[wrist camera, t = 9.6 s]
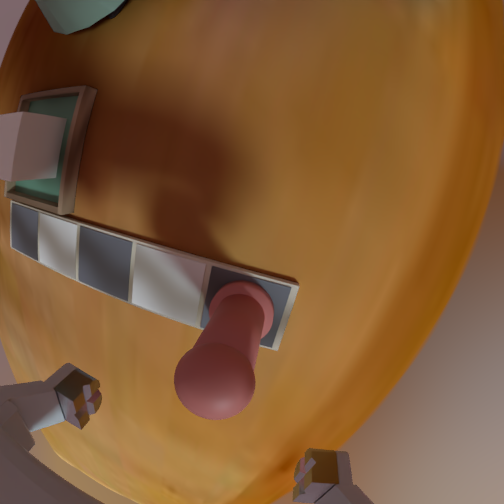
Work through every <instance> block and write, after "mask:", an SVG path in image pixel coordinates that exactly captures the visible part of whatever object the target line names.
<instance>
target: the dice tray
mask: <svg viewBox="0 0 504 504" xmlns="http://www.w3.org/2000/svg"><path fill="white" fill-rule="evenodd" d="M96 93H97V89H94V88H92V87H89V86H86V85H84V86H75V87H67V88H60V89H53V90H47V91H41V92H36V93H31V94H26V95H22V96H21V98H20V102H19V106H18V110H17V112H30V113H37V114H43V115H49V116H55V117H60V118H65V119H67V121H66V125H65V130H64V134H63V139H62V144H61V149H60V155H59V161H58V167H57V174H56V178H48V179H34V180H23V181H12V182H10V181H6V180H5V191H4V197H7V198H10V199H13V200H16V201H19V202H22V203H25V204H28V205H31V206H34V207H37V208H41V209H44V210H47V211H50V212H53V213H56V214H59V215H64V214H69V213H74V204H75V194H76V186H77V179H78V172H79V166H80V160H81V155H82V149H83V144H84V139H85V135H86V130H87V126H88V122H89V118H90V114H91V110H92V107H93V103H94V100H95V96H96Z"/></svg>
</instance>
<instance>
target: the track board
mask: <svg viewBox="0 0 504 504" xmlns="http://www.w3.org/2000/svg"><path fill="white" fill-rule="evenodd" d="M10 244H11V248H12V249H14V250H16V251H18V252H20V253H21V254H23V255H25V256H27V257H29V258H31V259H33V260H35V261H36V262H38V263H40V264H42V265H44V266H46V267H48V268H50V269H52V270H54V271H56V272H58V273H60V274H62V275H65V276H67V277H69V278H71V279H73V280H75V281H77V282H80V283H82V284H84V285H86V286H88V287H91V288H93V289H95V290H98V291H100V292H102V293H105V294H107V295H109V296H112V297H114V298H117V299H119V300H121V301H124V302H126V303H129V304H131V305H134V306H137V307H139V308H142V309H144V310H147V311H150V312H152V313H155V314H158V315H161V316H164V317H166V318H169V319H172V320H175V321H178V322H181V323H184V324H187V325H190V326H193V327H196V328H199V329H202V330H204V328H205V327H206V325H207V323H208V322H209V320H210V318H209V307H210V303H211V301H212V299H213V298H214V296H215V295H216V293H217V292H218V290H219V289H220V288H221V287H223V286H224V285H225V284H227V283H229V282H232V281H238V280H244V281H250V282H253V283H255V284H258V285H259V286H261V287H262V288H263V289H265V290H266V292H267V293H268V294H269V295H270V297H271V299H272V301H273V305H274V317H273V323H272V326H271V328H270V330H269V332H268V333H267V334H266V335H265V336H264V337H263V338H261V340H260V345H259V346H260V347H264V348H268V349H272V350H276V351H278V348H279V345H280V342H281V339H282V337H283V334H284V331H285V328H286V325H287V322H288V319H289V316H290V313H291V310H292V307H293V304H294V301H295V298H296V295H297V292H298V289H299V283H295V282H292V281H288V280H284V279H280V278H277V277H273V276H269V275H266V274H262V273H258V272H255V271H251V270H247V269H244V268H240V267H236V266H233V265H229V264H226V263H222V262H218V261H215V260H211V259H208V258H204V257H201V256H197V255H194V254H190V253H187V252H183V251H180V250H176V249H173V248H169V247H166V246H162V245H159V244H155V243H152V242H149V241H145V240H142V239H138V238H135V237H132V236H128V235H125V234H122V233H118V232H115V231H112V230H108V229H105V228H102V227H99V226H95V225H92V224H89V223H86V222H82V221H79V220H76V219H73V218H69V217H66V216H63V215H59V214H56V213H53V212H50V211H47V210H44V209H41V208H37V207H34V206H31V205H28V204H25V203H22V202H19V201H16V200H11V210H10Z"/></svg>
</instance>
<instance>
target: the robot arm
mask: <svg viewBox="0 0 504 504" xmlns="http://www.w3.org/2000/svg"><path fill="white" fill-rule="evenodd" d="M99 387H100V383H99V380H97V379H95V378H93V377H92V376H90V375H88V374H87V373H85V372H83V371H82V370H80V369H79V368H77V367H75V366H74V365H72V364H70V363H66V364H65V365H63V366H62V367H61V368H60V369H59V370H57V371H56V372H55V373H54V374H53V375H52V376H50V377H49V378H48V379H47V380H46V381H45V382H43V381H35V382H28V383H21V384H13V385H5V386H0V504H104V503H102V502H101V501H99V500H97V499H95V498H93V497H92V496H90V495H88V494H86V493H85V492H83V491H82V490H80V489H78V488H77V487H75V486H74V485H72V484H71V483H69V482H68V481H66V480H64V479H63V478H62V477H60V476H59V475H58V474H56V473H55V472H53V471H52V470H51V469H49V468H48V467H47V466H45V465H44V464H43V463H41V462H40V461H39V460H38V459H36V458H35V457H34V456H33V455H32V454H30V453H29V451H30V449H31V448H32V447H33V446H34V445H35V441H34V439H33V437H32V435H31V434H30V432H32V431H35V430H39V429H42V428H45V427H48V426H51V425H54V424H57V423H60V422H63V421H65V420H66V421H68V422H69V423H71V424H73V425H74V426H76V427H78V428H79V429H81V430H82V429H83V427H84V426H85V425H86V424H87V423H88V421H89V420H90V418H89V415H91V414H94V413H96V412H97V410H98V409H99V407H100V405H101V401H102V395H101V393H100V391H99V390H98V389H99ZM294 480H295V481H296V482H297V484H296V486H295V487H294V488H293V501H294V502H303V503H314V504H374V503H373V502H372V501H371V500H370V499H369V498H368V497H367V496H366V495H365V494H364V493H363V492H362V491H361V489H360V488H359V487H358V486H357V485H353V482H352V474H351V467H350V460H349V454H348V452H345V451H334V450H323V449H313V448H309V449H307V451H306V452H305V457H304V458H301V459H300V460H299V462H298V463H297V465H296V468H295V472H294Z"/></svg>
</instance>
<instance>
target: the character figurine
mask: <svg viewBox="0 0 504 504" xmlns="http://www.w3.org/2000/svg"><path fill="white" fill-rule="evenodd" d="M35 1H36V2H37V4H38V6H39V8H40V9H41V11H42V13H43V14H44V16H45V18H46V19H47V21H48V23H49V24H50V26H51V28H52V29H53V31H54V32H58V33H62V34H66V35H67V34H70V33H73V32H75V31H78V30H81V29H84V28H87V27H90V26H91V25H93V24H94V23H96V22H97V21H99V20H100V19H102V18H103V17H105V16H106V15H108V17H109V18H110V19H112V18H114V17H115V16H116V15H117V14H118V13H119V12H120V11H121V9H122V8H123V6H124V5H125V3H126V1H127V0H35Z"/></svg>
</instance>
